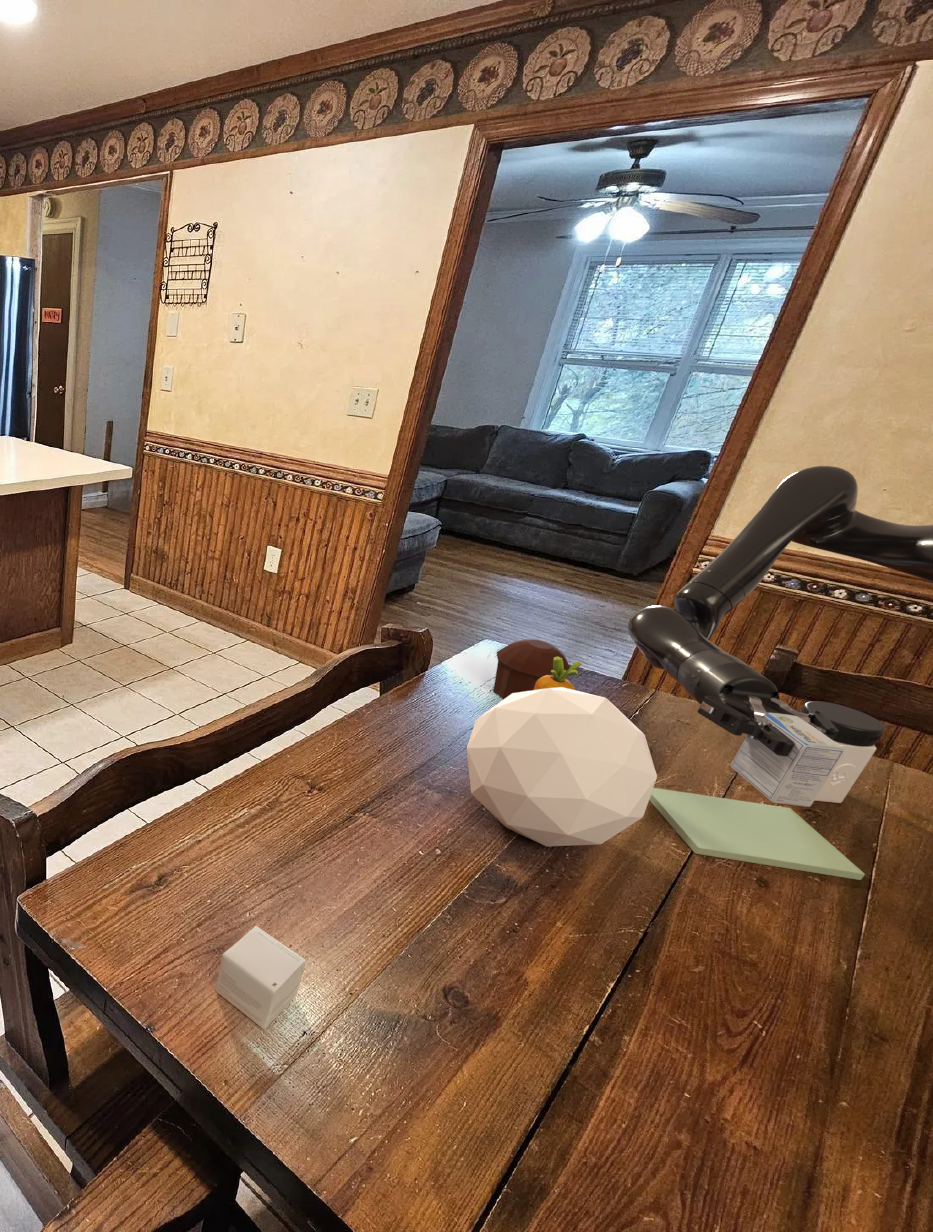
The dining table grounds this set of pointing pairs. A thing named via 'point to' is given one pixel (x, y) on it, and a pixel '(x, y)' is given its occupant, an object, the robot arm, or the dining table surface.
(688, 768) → the dining table surface
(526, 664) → the muffin
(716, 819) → the mat
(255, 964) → the small box
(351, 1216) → the dining table surface
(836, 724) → the jar
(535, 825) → the ball
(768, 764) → the medicine box
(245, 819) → the dining table surface
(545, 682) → the carrot
